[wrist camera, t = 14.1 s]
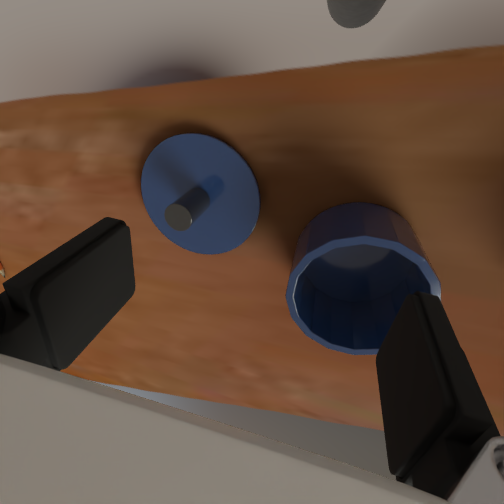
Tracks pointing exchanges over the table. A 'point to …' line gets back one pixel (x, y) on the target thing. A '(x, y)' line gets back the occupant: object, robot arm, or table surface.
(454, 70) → the table surface
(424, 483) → the robot arm
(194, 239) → the lid
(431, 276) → the pot
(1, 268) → the pencil
